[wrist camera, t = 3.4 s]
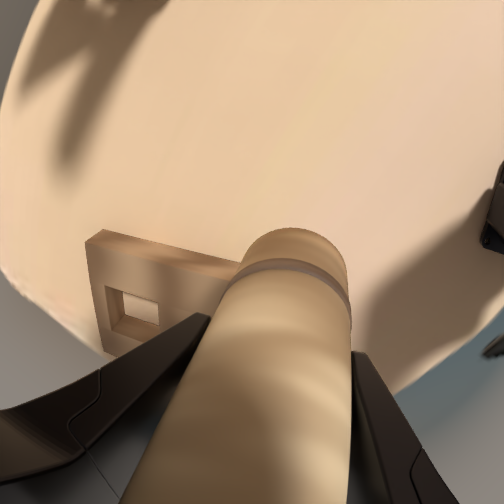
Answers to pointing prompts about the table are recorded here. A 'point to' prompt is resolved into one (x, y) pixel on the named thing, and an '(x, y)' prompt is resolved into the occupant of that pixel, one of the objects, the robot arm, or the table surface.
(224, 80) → the table surface
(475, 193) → the table surface
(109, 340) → the board
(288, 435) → the dowel
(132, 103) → the table surface
